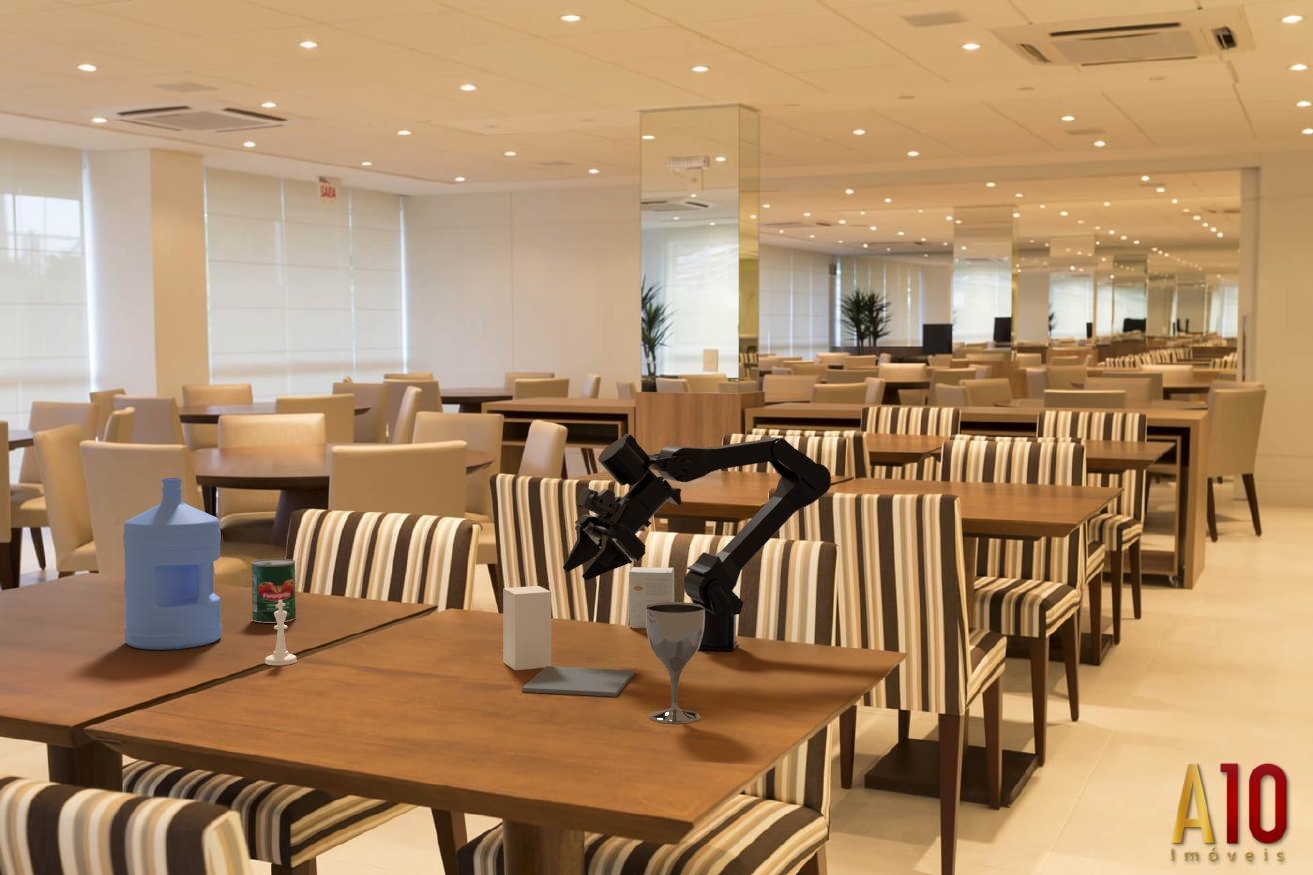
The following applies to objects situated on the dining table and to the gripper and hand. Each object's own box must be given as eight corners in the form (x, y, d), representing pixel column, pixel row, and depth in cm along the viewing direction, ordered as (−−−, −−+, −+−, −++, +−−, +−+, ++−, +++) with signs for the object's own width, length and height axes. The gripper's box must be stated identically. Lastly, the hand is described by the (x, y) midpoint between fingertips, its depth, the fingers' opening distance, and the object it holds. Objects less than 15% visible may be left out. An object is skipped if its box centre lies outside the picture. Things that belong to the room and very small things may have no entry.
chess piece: (303, 660, 209) (302, 598, 208) (282, 666, 204) (282, 603, 204) (279, 657, 211) (278, 596, 211) (258, 663, 207) (257, 601, 206)
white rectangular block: (538, 659, 211) (538, 585, 210) (551, 667, 205) (551, 591, 205) (503, 662, 208) (503, 588, 208) (514, 670, 203) (514, 594, 202)
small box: (674, 623, 241) (675, 567, 241) (672, 629, 236) (672, 572, 235) (632, 622, 242) (632, 566, 242) (628, 628, 237) (628, 571, 236)
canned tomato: (277, 614, 248) (277, 557, 247) (304, 619, 243) (304, 560, 242) (242, 620, 241) (242, 562, 241) (269, 625, 237) (269, 566, 236)
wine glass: (643, 709, 180) (643, 602, 179) (700, 708, 181) (701, 601, 180) (647, 725, 172) (648, 613, 172) (707, 724, 173) (708, 612, 172)
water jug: (103, 646, 219) (101, 480, 217) (171, 629, 233) (169, 473, 232) (177, 654, 213) (174, 484, 211) (241, 636, 227) (239, 477, 226)
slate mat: (634, 674, 201) (634, 670, 201) (615, 696, 187) (616, 692, 187) (546, 670, 203) (546, 666, 203) (522, 691, 190) (522, 687, 190)
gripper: (587, 466, 220) (523, 533, 216) (629, 475, 203) (560, 547, 199) (629, 512, 223) (567, 578, 219) (673, 524, 206) (607, 596, 202)
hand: (574, 574), depth 210 cm, fingers open, 9 cm apart
